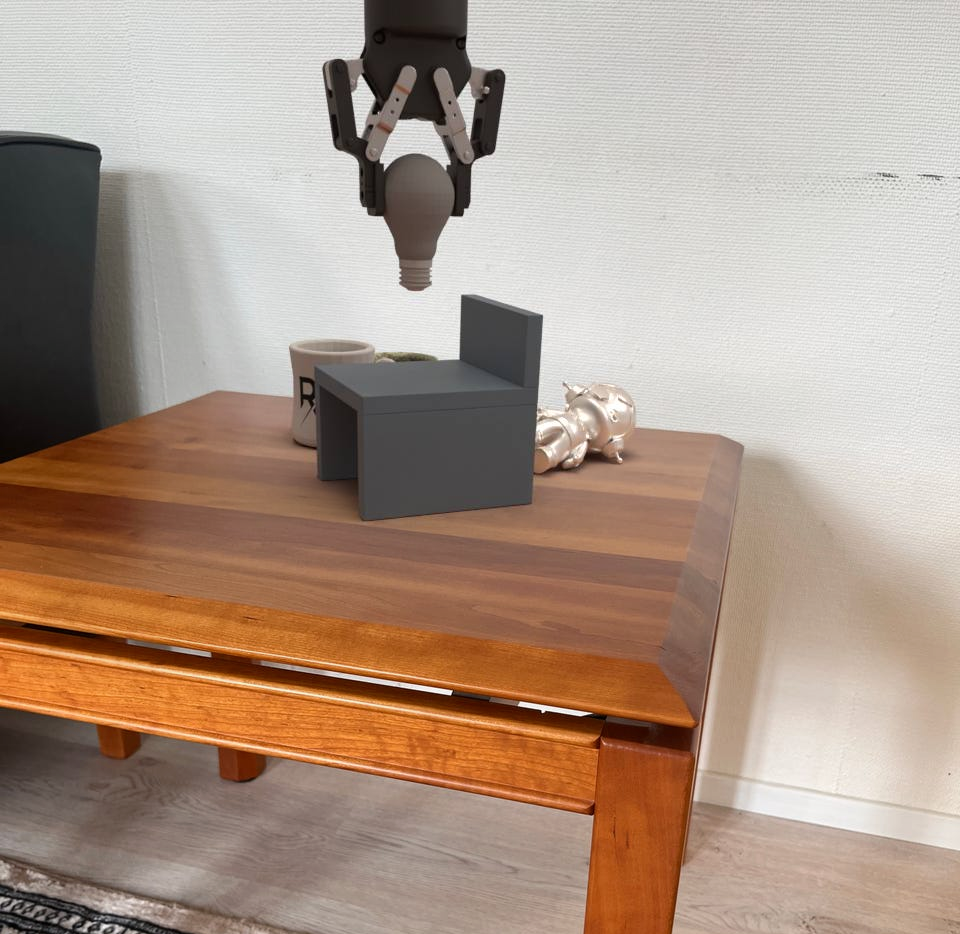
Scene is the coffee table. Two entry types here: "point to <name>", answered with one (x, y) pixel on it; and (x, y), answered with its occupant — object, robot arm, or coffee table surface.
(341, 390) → the grey toy chair
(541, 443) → the figurine
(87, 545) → the coffee table surface
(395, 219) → the light bulb
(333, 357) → the mug
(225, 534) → the coffee table surface
